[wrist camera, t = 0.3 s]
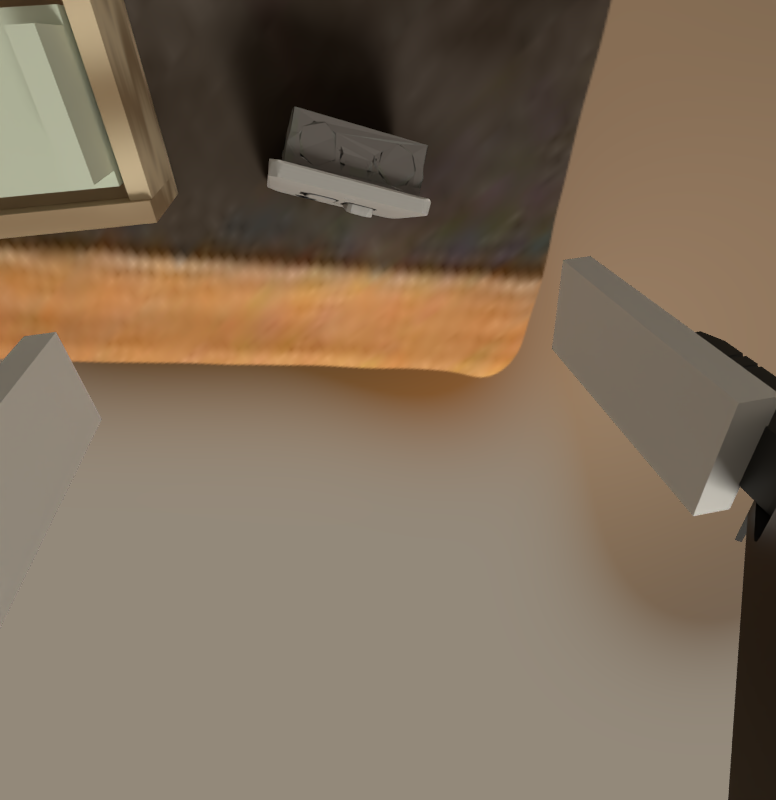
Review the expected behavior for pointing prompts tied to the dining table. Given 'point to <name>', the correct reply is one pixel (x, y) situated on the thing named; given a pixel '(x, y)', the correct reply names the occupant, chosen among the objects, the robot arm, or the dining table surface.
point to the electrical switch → (350, 167)
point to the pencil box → (126, 127)
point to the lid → (48, 108)
